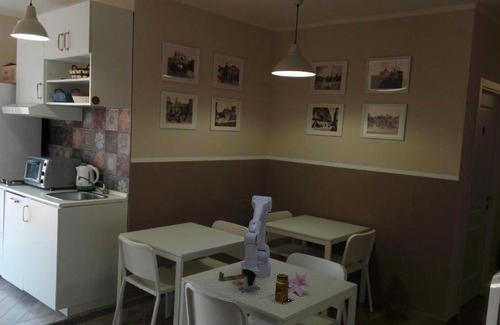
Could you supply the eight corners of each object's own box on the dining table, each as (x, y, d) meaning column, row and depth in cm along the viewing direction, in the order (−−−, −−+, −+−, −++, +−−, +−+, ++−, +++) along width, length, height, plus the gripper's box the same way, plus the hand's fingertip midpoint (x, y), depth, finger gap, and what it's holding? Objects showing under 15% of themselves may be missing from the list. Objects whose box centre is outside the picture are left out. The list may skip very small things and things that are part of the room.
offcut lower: (242, 282, 230) (242, 280, 230) (247, 285, 225) (247, 283, 225) (230, 284, 226) (230, 282, 226) (235, 287, 222) (235, 285, 222)
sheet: (253, 290, 219) (254, 274, 219) (255, 291, 218) (255, 275, 218) (243, 292, 216) (243, 276, 216) (244, 293, 215) (245, 276, 214)
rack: (241, 277, 238) (241, 267, 238) (254, 286, 226) (255, 275, 226) (217, 281, 231) (217, 270, 231) (229, 290, 219) (230, 279, 219)
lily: (283, 290, 226) (281, 277, 221) (302, 279, 230) (300, 265, 225) (297, 305, 217) (296, 292, 212) (317, 293, 221) (315, 280, 216)
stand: (255, 288, 224) (255, 283, 224) (264, 293, 217) (264, 288, 217) (234, 291, 218) (234, 286, 217) (242, 297, 211) (242, 292, 211)
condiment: (271, 300, 209) (272, 275, 208) (281, 295, 216) (283, 271, 215) (283, 305, 205) (285, 279, 204) (294, 300, 211) (295, 275, 210)
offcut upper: (241, 280, 229) (241, 278, 229) (246, 283, 226) (246, 281, 226) (231, 282, 226) (231, 280, 226) (237, 285, 222) (237, 283, 222)
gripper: (236, 254, 220) (235, 281, 221) (251, 262, 208) (249, 291, 209) (248, 252, 224) (247, 279, 225) (264, 260, 211) (262, 289, 212)
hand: (249, 284), depth 217 cm, fingers closed on sheet
